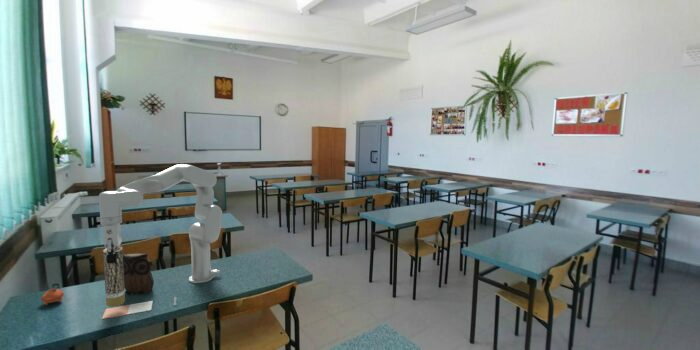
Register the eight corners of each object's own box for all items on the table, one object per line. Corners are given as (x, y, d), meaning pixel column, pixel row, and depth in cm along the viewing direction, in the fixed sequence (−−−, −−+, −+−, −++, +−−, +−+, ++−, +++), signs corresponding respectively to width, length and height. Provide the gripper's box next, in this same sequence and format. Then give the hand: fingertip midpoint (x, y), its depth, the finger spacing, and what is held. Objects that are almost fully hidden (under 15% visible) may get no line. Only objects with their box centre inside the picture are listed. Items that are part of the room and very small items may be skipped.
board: (176, 297, 160) (176, 296, 160) (176, 305, 152) (176, 305, 152) (106, 309, 148) (106, 308, 148) (101, 319, 140) (101, 318, 140)
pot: (69, 296, 158) (66, 285, 155) (58, 308, 151) (55, 296, 148) (50, 297, 156) (47, 285, 154) (38, 309, 149) (35, 297, 147)
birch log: (114, 299, 149) (111, 246, 146) (128, 300, 149) (126, 246, 146) (102, 307, 142) (99, 251, 139) (117, 307, 142) (114, 251, 139)
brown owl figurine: (155, 291, 165) (153, 253, 163) (125, 299, 157) (122, 259, 155) (149, 283, 174) (147, 247, 172) (120, 290, 166) (118, 252, 164)
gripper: (118, 224, 135) (120, 265, 137) (124, 214, 151) (126, 252, 153) (95, 225, 132) (98, 268, 134) (104, 216, 147) (107, 254, 149)
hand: (113, 259), depth 143 cm, fingers closed on birch log, 6 cm apart
